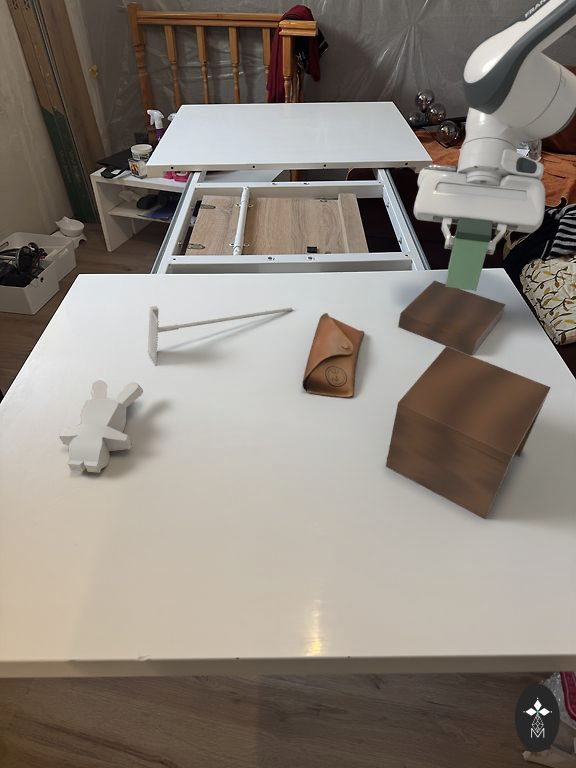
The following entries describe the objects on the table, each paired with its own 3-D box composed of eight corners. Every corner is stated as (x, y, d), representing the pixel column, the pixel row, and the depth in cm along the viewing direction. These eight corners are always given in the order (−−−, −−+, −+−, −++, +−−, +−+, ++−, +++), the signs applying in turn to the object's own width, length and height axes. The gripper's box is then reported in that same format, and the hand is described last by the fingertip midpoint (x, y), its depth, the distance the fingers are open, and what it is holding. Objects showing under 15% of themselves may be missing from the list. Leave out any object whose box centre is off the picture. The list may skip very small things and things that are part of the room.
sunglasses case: (356, 397, 82) (336, 366, 78) (316, 409, 85) (296, 379, 81) (365, 329, 95) (349, 300, 91) (331, 342, 98) (313, 314, 95)
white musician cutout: (42, 455, 68) (82, 370, 78) (55, 476, 72) (92, 393, 82) (114, 460, 68) (145, 374, 78) (123, 481, 71) (152, 396, 81)
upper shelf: (522, 450, 74) (551, 387, 66) (485, 519, 66) (512, 455, 58) (430, 408, 81) (446, 345, 73) (385, 466, 72) (397, 402, 64)
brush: (294, 339, 101) (306, 299, 95) (154, 366, 88) (156, 321, 82) (285, 327, 104) (295, 287, 97) (147, 351, 90) (148, 306, 84)
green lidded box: (447, 266, 95) (459, 212, 88) (478, 270, 93) (492, 216, 87) (444, 287, 89) (456, 231, 83) (476, 291, 88) (491, 235, 82)
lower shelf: (501, 317, 99) (505, 304, 97) (471, 355, 90) (475, 341, 88) (431, 293, 105) (434, 280, 103) (397, 326, 96) (400, 313, 94)
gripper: (421, 153, 87) (405, 235, 86) (555, 166, 82) (538, 252, 82) (420, 171, 93) (405, 248, 93) (544, 184, 89) (529, 264, 88)
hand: (468, 250), depth 87 cm, fingers closed on green lidded box, 5 cm apart
